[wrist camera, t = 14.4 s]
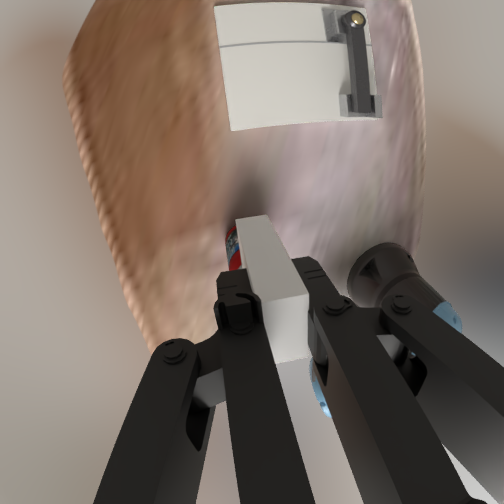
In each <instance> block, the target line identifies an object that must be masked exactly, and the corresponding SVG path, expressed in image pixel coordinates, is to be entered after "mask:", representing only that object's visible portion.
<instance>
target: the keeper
mask: <svg viewBox="0 0 504 504" xmlns="http://www.w3.org/2000/svg"><path fill="white" fill-rule="evenodd" d="M370 99H371V113H354V112H352V98H351V95H339V106H340V116H342V117H372V118H382V101H381V95H370Z"/></svg>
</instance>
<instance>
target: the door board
mask: <svg viewBox="0 0 504 504" xmlns="http://www.w3.org/2000/svg"><path fill="white" fill-rule="evenodd" d="M322 8H326V9H338V10H348V11H352V10H356V11H359V12H361V13H362V14H363V15H364V17H365V19H366V24H365V26H364V33H365V41H366V49H367V59H368V70H369V83H370V95H377V91H376V79H375V70H374V61H373V53H372V45H371V38H370V32H369V25H368V20H367V14H366V9H365V8H358V7H351V6H342V5H332V4H319V3H297V2H268V3H246V4H233V5H223V6H214V14H215V22H216V29H217V36H218V44H219V51H220V58H221V65H222V73H223V80H224V87H225V94H226V101H227V109H228V116H229V123H230V130H231V131H236V130H244V129H251V128H259V127H268V126H277V125H287V124H299V123H312V122H328V121H353V120H378V118H372V117H342V116H340V106H339V95H351V83H350V71H349V60H348V50H347V43H334V42H326V36H325V30H324V23H323V17H322V11H321V9H322Z"/></svg>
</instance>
